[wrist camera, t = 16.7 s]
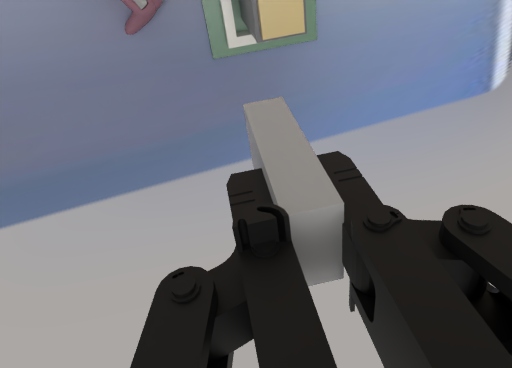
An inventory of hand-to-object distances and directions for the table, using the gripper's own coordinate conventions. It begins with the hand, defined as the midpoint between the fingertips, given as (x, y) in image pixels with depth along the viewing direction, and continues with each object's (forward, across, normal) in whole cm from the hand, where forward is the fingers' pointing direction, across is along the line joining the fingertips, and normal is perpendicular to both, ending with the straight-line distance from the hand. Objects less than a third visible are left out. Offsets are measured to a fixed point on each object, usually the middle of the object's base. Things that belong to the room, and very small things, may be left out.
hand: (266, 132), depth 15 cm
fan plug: (+30, +5, 0) cm, 30 cm away
